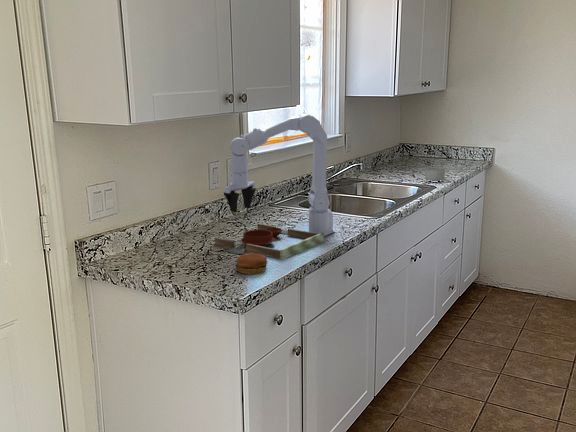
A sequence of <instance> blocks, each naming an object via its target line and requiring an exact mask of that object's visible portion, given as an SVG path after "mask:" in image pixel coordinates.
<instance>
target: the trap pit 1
mask: <svg viewBox="0 0 576 432" xmlns="http://www.w3.org/2000/svg"><path fill="white" fill-rule="evenodd" d="M224 252H225V253H229V254H235V255H239V256H240V255H242V254H245V253H247V252H246V249H241V248H236V247H234V248H227V249H226V250H224Z"/></svg>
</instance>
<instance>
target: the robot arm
mask: <svg viewBox="0 0 576 432" xmlns="http://www.w3.org/2000/svg"><path fill="white" fill-rule="evenodd" d="M287 131H294V132H295V131H296V132H299V131H300V132H302V133H305V134H306V135H307V136H308V137H309V138H310V139H311V140H312V173H311V174H312V175H311V177H312V178H311V185H310V191H309V194H308V196H307V203H309V205H310V206H309V208H308V230H307V232H313V233H324V237H325V236H328V235H330V234H333V233H335V232H336V230H334V214H333V211H332V210H331V209H330V208H329V207H330V198H329V196H328V189H327V184H326V183H327V157H328V155H327V153H328V151H327V150H328V134H327V133H326V131H325V130H324V128H323V126H322V124H321V122H320V120H318V118H316V117H315V116H314V115H312V114H307V113H300V114H299V115H293V116H292V117H289V118H286V119H284V120H282V121H280V122H278V123H276V124H274V125H272V126H270V127H268V128H266V129H263V128H260V127H259V128H256V127H255V128H253V129H252V131H250V132H248V133H246V134H241V135H240V137H234V138H233V139H232V140H231V142H230V144H229V149H230V151H231V154H230V157H231V158H230V168H231V170H230V171H231V175H230V176H231V183H229V185H228V186H227V185H226V186H224V192H223V196H224V197H225V198H226V201H227V203H228V206H229V210H230V212H231V213H237V211H238V199H239V195H240V194H239V193H237V191H241V194H242V198H243V199H242V200H243V206H244V208H245V209H250V208H251V205H252V199H253V198H254V195H255V193H256V191H257V189H256V187H255V186H256V185H255V184H256V183H255V182H256V181H253V180H252V181H249V180H248V178H249V177H248V176H249V175H248V159H247V153H248V151H251V150H255V149H256V148H259V147H261V146H263V145H266V144H267V143H268V140H269V138H270V139H271V138H272V137H275V136H277V135H279V134H282V133H285V132H287Z"/></svg>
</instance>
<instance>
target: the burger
mask: <svg viewBox="0 0 576 432" xmlns="http://www.w3.org/2000/svg"><path fill="white" fill-rule="evenodd" d="M267 265H268V259H267V256H265V255H262V254H257V253H251V252H246V253H241V254H239V256H238V257H237V258H236V262H235V268H236V270H237V271H238V273H240V274H243V275H259V274H262V273H263V272H264V271H265V270H266V268H267Z"/></svg>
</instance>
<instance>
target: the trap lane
mask: <svg viewBox="0 0 576 432" xmlns="http://www.w3.org/2000/svg"><path fill="white" fill-rule="evenodd" d="M267 228H277V226H276V225H270V224H264V223H257V230H265V229H267ZM287 231H288V235H287V236H288V237H293V238H299V239H303V240H300V241H297V242H296V243H292V244H290V245H287V246H286V247H283V248H280V249H279V248H272V247H267V246H265V247H263V246H257V245H252V244H245V247H246V248H245V251H246V252H245V253H257V254H262V255H264V256H265V257H270V258H271V257H272V258H276V259H281V260H284V259H286V258H288V257H291V256H293V255H296V254H298V253H300V252H303V251H305V250H307V249H309V248H311V247H314V246H316V245H318V244H320V243H323V242H325V236H324V233H313V232H307V231H308V230H307V231H306V230H300V229H296V228H295V229H294V228H287ZM214 246H217V247H218V246H219V247H222V248H227V249H231V248H235V240H232V239H226V238H221V237H215V238H214Z"/></svg>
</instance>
